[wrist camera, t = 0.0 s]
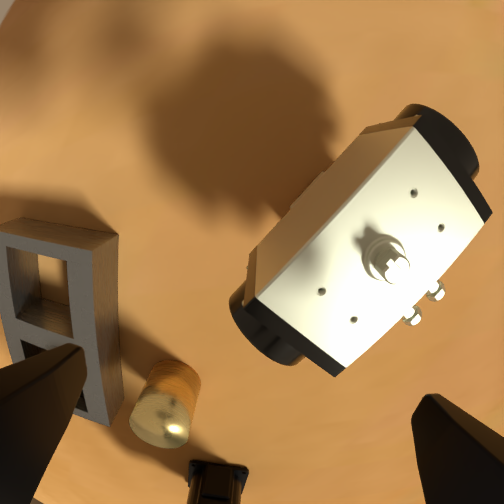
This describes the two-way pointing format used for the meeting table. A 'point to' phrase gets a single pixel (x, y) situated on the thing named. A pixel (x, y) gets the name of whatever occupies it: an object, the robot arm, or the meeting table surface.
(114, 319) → the jig
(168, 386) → the brass domed cylinder
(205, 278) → the meeting table surface
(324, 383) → the meeting table surface
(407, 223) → the pneumatic valve
